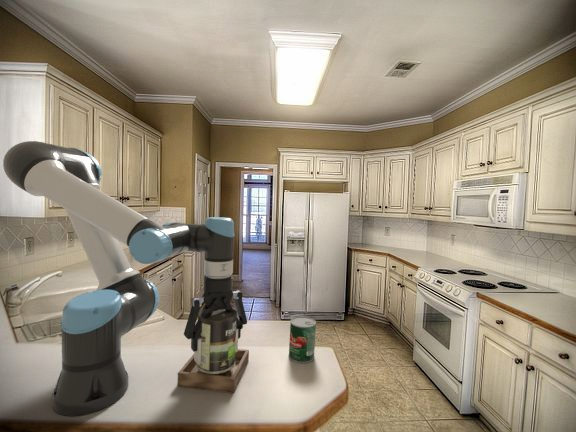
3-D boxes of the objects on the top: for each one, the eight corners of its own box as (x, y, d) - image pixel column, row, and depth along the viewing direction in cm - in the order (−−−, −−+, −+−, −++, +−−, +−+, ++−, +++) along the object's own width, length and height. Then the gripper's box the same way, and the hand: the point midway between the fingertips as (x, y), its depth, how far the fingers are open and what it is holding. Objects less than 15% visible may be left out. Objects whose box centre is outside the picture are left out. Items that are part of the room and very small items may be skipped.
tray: (177, 386, 76) (177, 372, 75) (201, 356, 90) (201, 345, 90) (233, 393, 74) (234, 379, 74) (248, 361, 88) (248, 350, 88)
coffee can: (240, 356, 86) (242, 308, 85) (226, 377, 76) (228, 323, 75) (207, 351, 88) (208, 304, 87) (189, 371, 78) (190, 318, 77)
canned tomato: (285, 359, 90) (286, 324, 90) (293, 347, 98) (294, 314, 97) (310, 365, 88) (312, 328, 87) (316, 352, 95) (318, 318, 95)
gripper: (180, 284, 71) (179, 376, 72) (261, 273, 84) (258, 349, 86) (170, 277, 76) (169, 362, 78) (248, 267, 90) (245, 339, 92)
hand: (216, 355), depth 82 cm, fingers closed on coffee can, 10 cm apart
